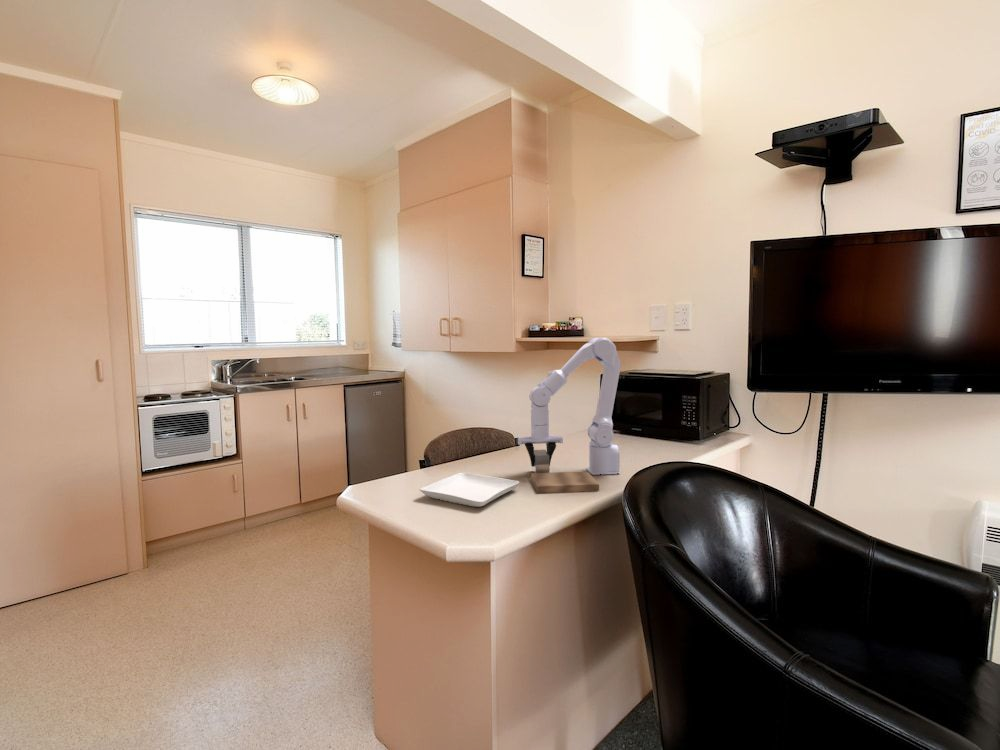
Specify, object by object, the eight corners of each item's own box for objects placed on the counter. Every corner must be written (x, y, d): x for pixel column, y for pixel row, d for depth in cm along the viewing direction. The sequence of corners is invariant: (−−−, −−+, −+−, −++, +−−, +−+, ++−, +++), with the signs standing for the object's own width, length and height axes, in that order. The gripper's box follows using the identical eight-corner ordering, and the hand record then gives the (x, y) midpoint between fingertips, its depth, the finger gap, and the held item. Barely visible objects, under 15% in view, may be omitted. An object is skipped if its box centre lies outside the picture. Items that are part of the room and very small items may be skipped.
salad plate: (521, 491, 145) (521, 479, 145) (482, 514, 127) (481, 500, 127) (461, 481, 156) (461, 470, 156) (417, 501, 138) (417, 489, 137)
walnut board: (587, 477, 157) (587, 471, 157) (599, 490, 143) (599, 484, 143) (530, 479, 156) (530, 473, 156) (537, 493, 142) (537, 486, 142)
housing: (545, 467, 166) (545, 449, 166) (549, 473, 158) (549, 455, 158) (532, 467, 166) (531, 450, 165) (535, 474, 158) (535, 455, 157)
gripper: (559, 421, 165) (560, 461, 166) (516, 422, 164) (517, 463, 165) (563, 425, 158) (564, 466, 159) (518, 426, 157) (519, 468, 158)
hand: (540, 465), depth 162 cm, fingers closed on housing, 4 cm apart
